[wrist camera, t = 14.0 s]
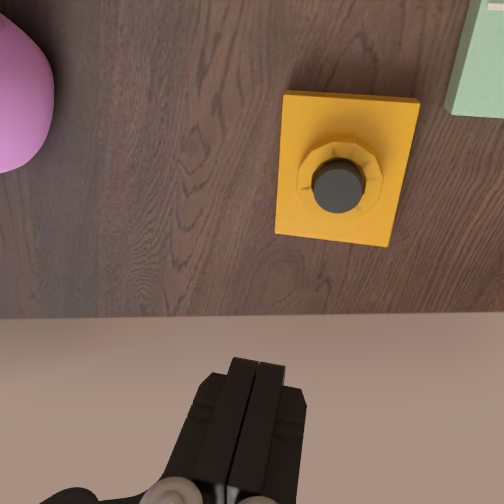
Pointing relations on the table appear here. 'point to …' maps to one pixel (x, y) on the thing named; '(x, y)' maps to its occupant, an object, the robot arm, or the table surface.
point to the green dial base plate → (479, 63)
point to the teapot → (22, 96)
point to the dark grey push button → (338, 186)
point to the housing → (348, 149)
